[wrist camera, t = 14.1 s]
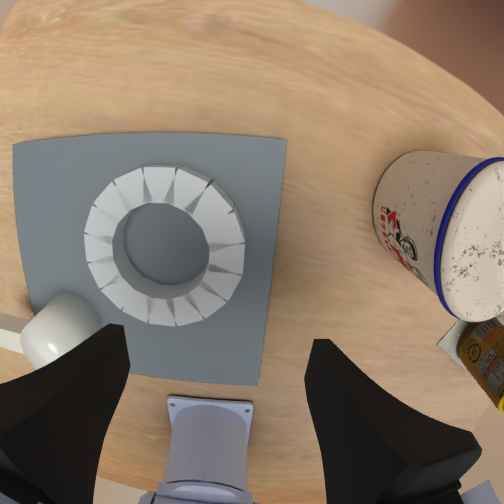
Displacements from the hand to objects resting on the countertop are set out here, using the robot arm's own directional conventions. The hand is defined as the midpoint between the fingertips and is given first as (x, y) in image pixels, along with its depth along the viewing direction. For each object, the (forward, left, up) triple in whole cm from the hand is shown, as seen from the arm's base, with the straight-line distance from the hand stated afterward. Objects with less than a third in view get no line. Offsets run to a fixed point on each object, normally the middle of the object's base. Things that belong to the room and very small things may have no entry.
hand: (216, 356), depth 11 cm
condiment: (-7, -26, -11) cm, 29 cm away
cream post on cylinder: (-6, +14, -9) cm, 18 cm away
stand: (-2, +7, -10) cm, 13 cm away
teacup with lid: (+4, -15, -11) cm, 19 cm away
